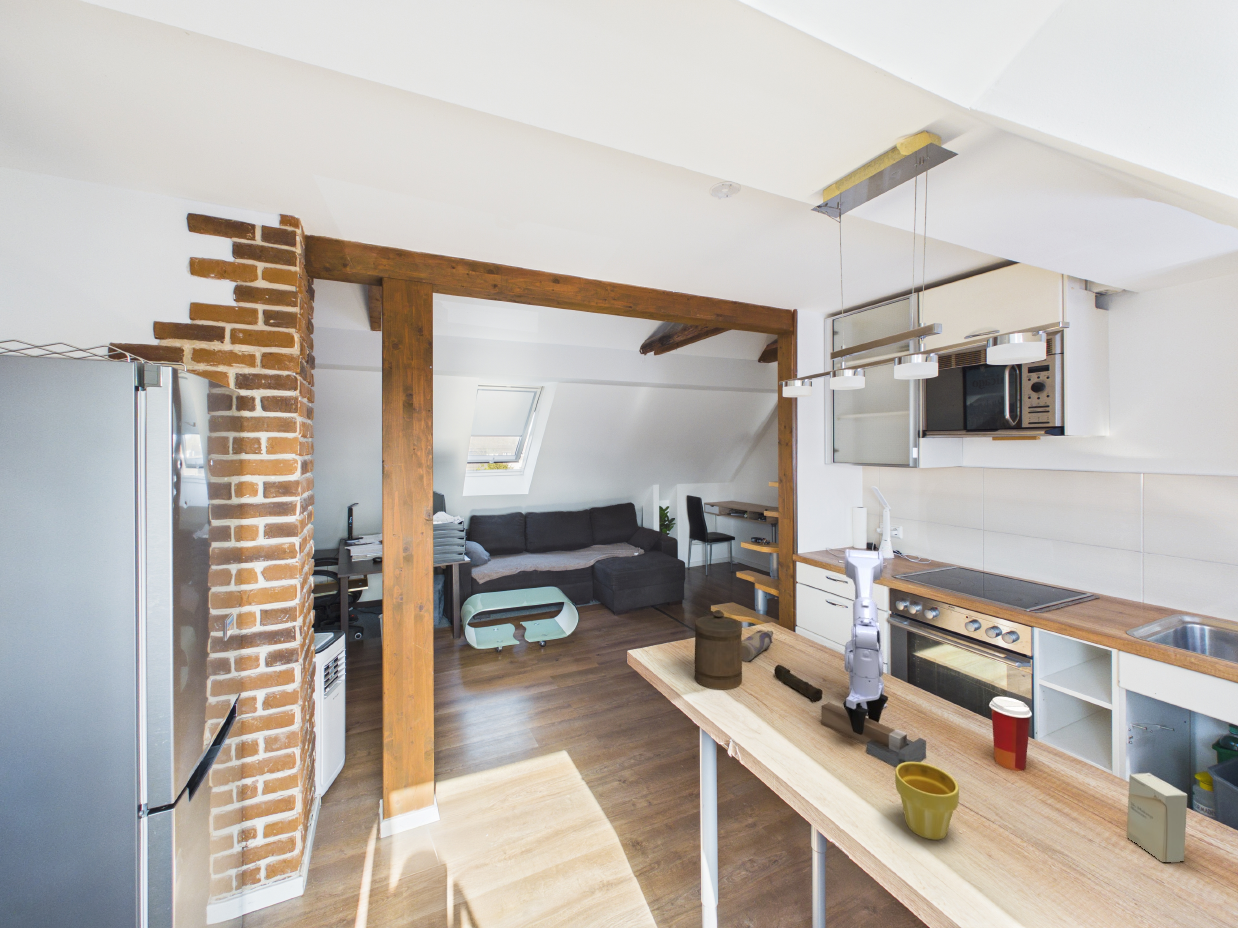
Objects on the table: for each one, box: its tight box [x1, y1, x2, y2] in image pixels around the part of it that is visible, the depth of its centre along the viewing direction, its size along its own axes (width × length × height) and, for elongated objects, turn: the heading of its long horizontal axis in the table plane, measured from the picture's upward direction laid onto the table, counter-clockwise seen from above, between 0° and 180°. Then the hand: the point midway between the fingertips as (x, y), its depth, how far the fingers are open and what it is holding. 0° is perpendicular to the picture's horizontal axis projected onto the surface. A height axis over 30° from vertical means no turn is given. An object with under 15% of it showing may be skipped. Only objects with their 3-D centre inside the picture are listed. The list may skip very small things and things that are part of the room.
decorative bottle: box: [742, 629, 774, 662], centre depth 186 cm, size 26×8×7 cm, turn 141°
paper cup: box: [988, 696, 1033, 772], centre depth 117 cm, size 8×8×14 cm
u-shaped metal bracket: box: [866, 737, 927, 768], centre depth 121 cm, size 10×9×4 cm
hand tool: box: [773, 664, 824, 703], centre depth 156 cm, size 19×4×5 cm, turn 20°
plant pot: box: [894, 761, 960, 841], centre depth 98 cm, size 10×10×10 cm
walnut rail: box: [820, 701, 908, 753], centre depth 128 cm, size 4×20×5 cm, turn 36°
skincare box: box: [1126, 772, 1188, 863], centre depth 92 cm, size 6×4×12 cm
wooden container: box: [694, 609, 743, 690], centre depth 162 cm, size 15×15×22 cm
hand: (865, 727), depth 127 cm, fingers open, 7 cm apart
